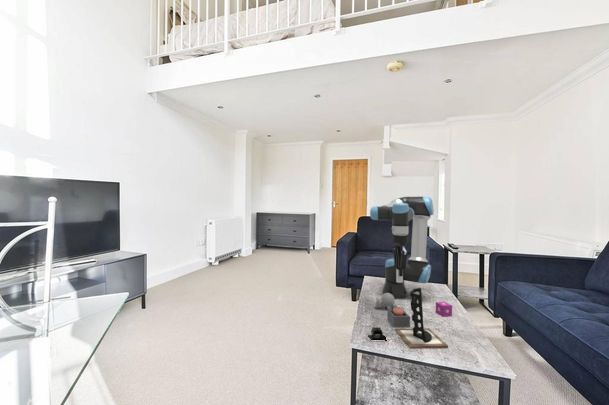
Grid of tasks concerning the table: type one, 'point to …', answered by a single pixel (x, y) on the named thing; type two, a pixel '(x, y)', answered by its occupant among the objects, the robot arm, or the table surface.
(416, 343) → the board
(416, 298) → the holder
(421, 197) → the robot arm
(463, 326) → the table surface
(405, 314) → the button housing
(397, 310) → the button
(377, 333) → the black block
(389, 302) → the round bodied animal figurine
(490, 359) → the table surface
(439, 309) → the puzzle toy
